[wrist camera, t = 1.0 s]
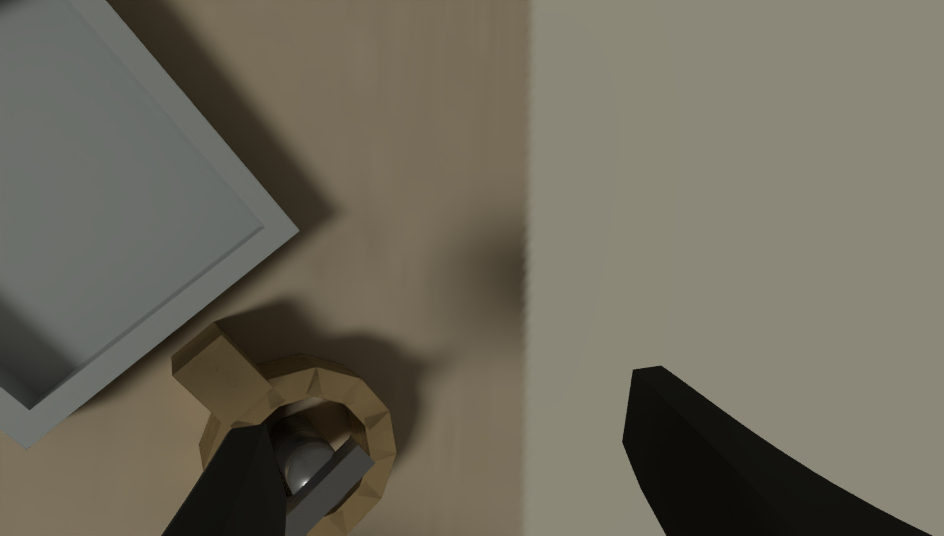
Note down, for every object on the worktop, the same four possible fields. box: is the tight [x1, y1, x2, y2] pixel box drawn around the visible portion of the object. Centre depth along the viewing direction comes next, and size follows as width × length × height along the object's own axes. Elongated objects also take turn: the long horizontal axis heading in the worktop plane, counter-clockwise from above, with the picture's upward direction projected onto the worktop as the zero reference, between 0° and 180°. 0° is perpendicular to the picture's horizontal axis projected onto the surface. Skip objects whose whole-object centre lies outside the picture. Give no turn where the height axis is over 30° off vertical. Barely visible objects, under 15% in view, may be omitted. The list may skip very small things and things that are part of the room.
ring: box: [171, 322, 397, 536], centre depth 20 cm, size 6×9×3 cm
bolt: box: [270, 415, 375, 536], centre depth 20 cm, size 3×2×5 cm, turn 128°
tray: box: [0, 0, 300, 449], centre depth 17 cm, size 10×11×2 cm
